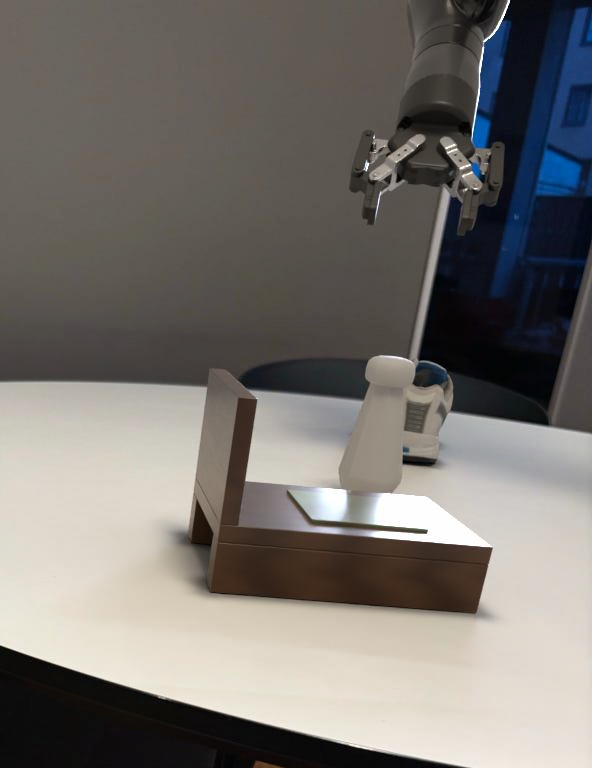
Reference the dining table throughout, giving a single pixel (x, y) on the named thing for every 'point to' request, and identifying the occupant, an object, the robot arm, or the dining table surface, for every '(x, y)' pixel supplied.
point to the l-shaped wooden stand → (321, 529)
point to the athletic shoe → (425, 411)
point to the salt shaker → (378, 429)
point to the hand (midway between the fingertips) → (416, 223)
